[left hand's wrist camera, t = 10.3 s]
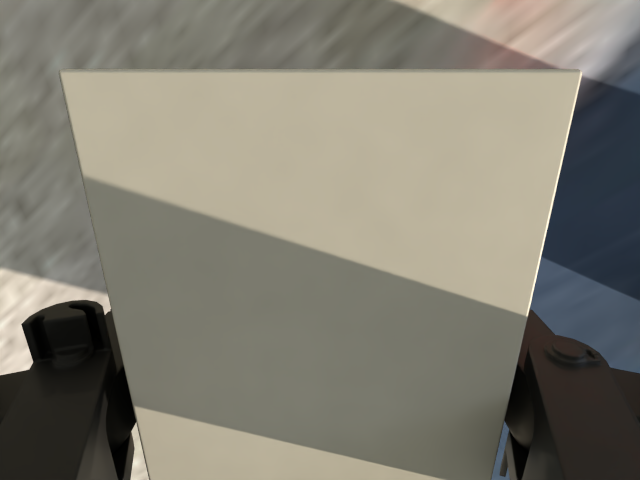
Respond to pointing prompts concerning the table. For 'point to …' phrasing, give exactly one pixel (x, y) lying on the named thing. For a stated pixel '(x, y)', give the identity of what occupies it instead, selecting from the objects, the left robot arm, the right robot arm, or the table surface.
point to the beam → (320, 260)
